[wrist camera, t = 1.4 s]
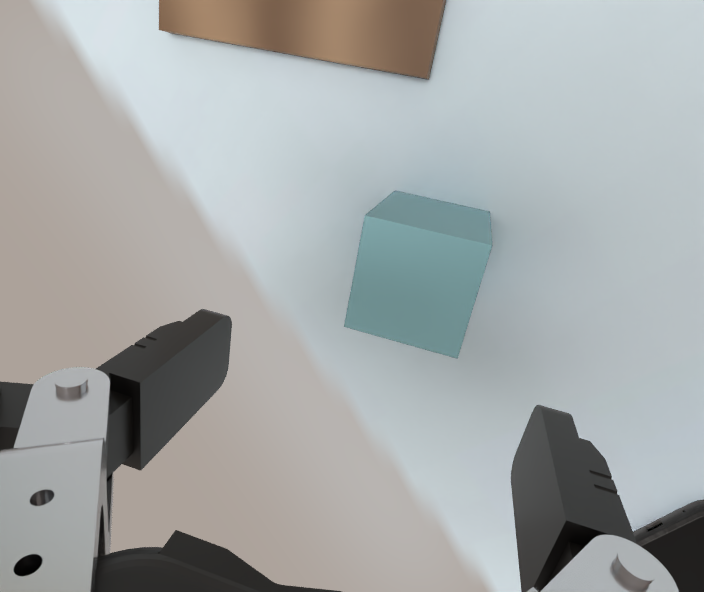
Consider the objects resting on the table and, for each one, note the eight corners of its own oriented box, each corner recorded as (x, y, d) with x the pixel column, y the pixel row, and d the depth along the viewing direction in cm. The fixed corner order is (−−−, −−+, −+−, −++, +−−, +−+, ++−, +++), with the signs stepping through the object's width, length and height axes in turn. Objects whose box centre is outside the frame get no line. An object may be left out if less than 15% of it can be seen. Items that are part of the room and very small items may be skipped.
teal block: (489, 211, 24) (492, 245, 17) (463, 299, 26) (457, 358, 19) (395, 190, 25) (364, 215, 18) (376, 277, 27) (343, 326, 20)
